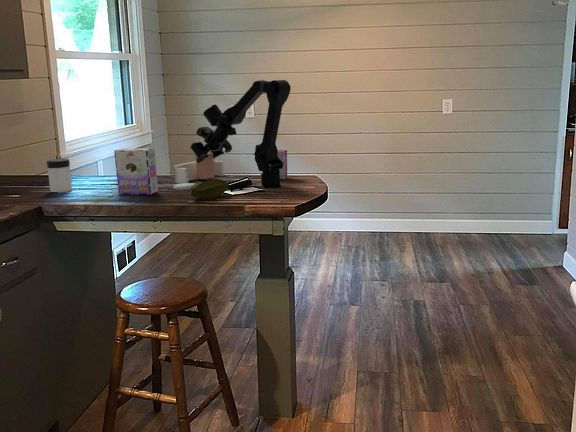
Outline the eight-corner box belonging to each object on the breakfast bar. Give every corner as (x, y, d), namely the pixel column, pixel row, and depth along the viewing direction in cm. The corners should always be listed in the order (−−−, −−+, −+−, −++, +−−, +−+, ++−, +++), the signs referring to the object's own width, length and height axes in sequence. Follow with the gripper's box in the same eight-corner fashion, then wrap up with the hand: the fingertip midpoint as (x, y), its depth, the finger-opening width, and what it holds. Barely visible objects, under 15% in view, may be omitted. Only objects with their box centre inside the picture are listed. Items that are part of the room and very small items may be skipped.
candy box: (159, 192, 231) (155, 147, 228) (150, 195, 226) (146, 149, 222) (126, 191, 236) (122, 147, 232) (117, 194, 230) (113, 149, 227)
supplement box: (285, 180, 247) (284, 151, 244) (270, 180, 248) (269, 151, 245) (288, 177, 252) (287, 149, 250) (273, 177, 253) (272, 149, 251)
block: (214, 177, 255) (212, 152, 253) (206, 179, 251) (204, 154, 249) (205, 176, 258) (203, 152, 256) (197, 178, 254) (195, 153, 252)
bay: (224, 175, 264) (223, 159, 262) (186, 184, 246) (184, 166, 245) (213, 174, 267) (212, 158, 266) (175, 182, 250) (173, 165, 248)
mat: (197, 185, 243) (197, 182, 243) (197, 189, 235) (197, 186, 234) (173, 186, 242) (173, 183, 242) (173, 190, 234) (172, 187, 233)
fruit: (196, 195, 223) (195, 177, 222) (229, 194, 222) (228, 176, 221) (188, 202, 212) (187, 182, 210) (224, 201, 211) (222, 182, 210)
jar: (73, 191, 239) (69, 160, 236) (50, 193, 236) (46, 162, 234) (72, 188, 247) (68, 157, 245) (50, 190, 245) (46, 159, 242)
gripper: (224, 118, 255) (207, 144, 263) (191, 122, 240) (174, 149, 249) (240, 138, 252) (222, 164, 261) (208, 143, 237) (189, 170, 246)
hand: (202, 161), depth 254 cm, fingers closed on block, 5 cm apart
